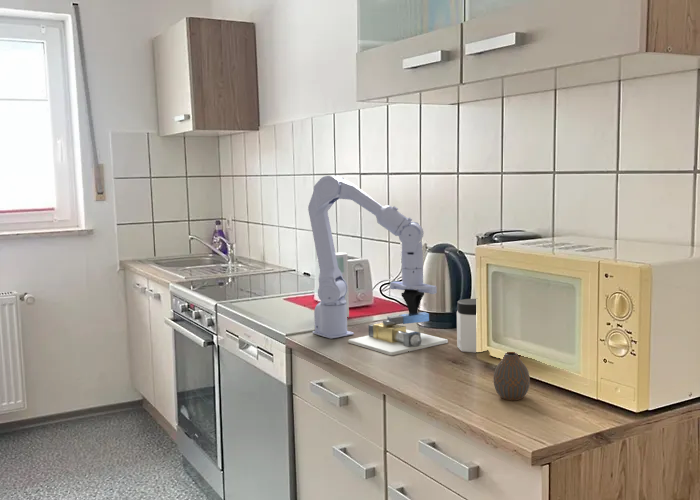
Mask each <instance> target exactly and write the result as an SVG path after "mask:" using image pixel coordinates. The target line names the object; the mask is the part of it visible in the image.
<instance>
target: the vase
mask: <svg viewBox="0 0 700 500" xmlns="http://www.w3.org/2000/svg"><path fill="white" fill-rule="evenodd" d="M496 365H497V366H495V368H494V373H493V385H494V386H493V388H494V389H495V391H496V393H497V394H498V396H500V398H502V399H503V400H507V401H519V400H521V399H523V398H524V397H525V396H526V395H527V393H528V391H529V388H530V383H531V379H530V378H531V377H530V372H529V369H528V367H527V366H526V364H525V362H523V360H522V359H521V358H520V356H518V354H517V353H515V352H507V353H505V355H504V357H503V359H502V360H501V359H500V361H499V363H498V364H496Z"/></svg>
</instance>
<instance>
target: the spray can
mask: <svg viewBox="0 0 700 500" xmlns="http://www.w3.org/2000/svg"><path fill="white" fill-rule="evenodd" d="M335 253H336V259H337V264H338V268H339V269H340V271H341V273H342V277H343V279H344V280H345V282H346V283H347V286H348V287H349V266H348V262H349V261H348V256H349V255H348V253H347V252H335ZM344 298H345V300H346V307H347V317H348V318H349V317H350V306H349V305H350V304H349V301H350V300H349V289H348V290H347V293H346V295H345V296H344Z"/></svg>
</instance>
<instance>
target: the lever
mask: <svg viewBox="0 0 700 500" xmlns="http://www.w3.org/2000/svg"><path fill="white" fill-rule="evenodd" d="M429 321H430V313H428V312H426V311H423V312H422V311H421V312H420V311H419V312H418V313H410V314H409V313H403V314H399V315H390V316H387V317H386V319H383V320H382V323H383V325H385V326H393V325H396V324H397V325H406V324H414V323H415V324H416V323H424V322H429Z"/></svg>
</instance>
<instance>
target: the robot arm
mask: <svg viewBox="0 0 700 500" xmlns="http://www.w3.org/2000/svg"><path fill="white" fill-rule="evenodd" d="M338 200H349V201H353V202H354V203H355V204H356V205H359V206H360V207H361V208H364V209H365V210H366V211H368V212H369V213H371V214H373V215H374V216H375V217H376V222H377V224H379V225H380V226H382V227H383V228H384V230H385V229H386V230H387V231H388V232H390V233H391V234H392V235H394V236H395V237H398V239H399V241H400V243H401V281H391V282H389V289H390V290H399V291H403V292H401V297H402V298H403V301H404V303H405V304H406V306H407V310H408V314H410V313H419V312H418V311H419V305H420V304H421V301H422V299H423V297H424V296H425V294H430V295H434V294H437V293H438V289H437V288H438V287H437V285H431V284H428V283H424V250H423V241H422V240H423V237H424V233H425V232H424V228H423V227H422V226H421V224H420V223H418V222H416V221H413V218H411V217H406V216H405V215H404V214H403V213H401V212H400V211H399V208H398V207H397V206H395V205H394V206H391V205H382V204H381V203H379V202H378V201H376V200H375V199H374V198H372V197H371V196H370V195H369V194H368V193H366V192H365V191H364V190H362V189H361V188H360V187H358V186H357V185H356V184H354V183H353V182H351V181H349V180H346V179H345V178H343V177H342V176H341V175H325V176H322V177H320V179H319V180H318V181H317V182H316V183H315V184H314V186H313V191H312V195H311V197H310V200H309V204H308V205H307V206H308V209H307V212H308V217H309V220H310V226H311V231H312V236H313V242H314V246H315V251H316V257H317V262H318V263H317V264H318V269H319V273H318V274H319V275H318V284H319V286H318V289H317V297H318V299H319V300H320V302H318V303H317V304H316V305H315V307H314V313H313V314H314V317H313V319H314V330H312V334H314V335H318V336H321V337H324V338H326V339H332V340H333V339H337V338H343V337H348V336H352V335H354V334H355V332H352V331H349V330H348V318H347V307H346V300H345V298H344V296H345V295H346V293H347V290H348V291H349V285H348V286H347V283H346V282H345V280H344V279H343V277H342V273H341V271H340V269H339V268H338V264H337V259H336V253H337V252H336V250H335V242H334V239H333V234H332V229H331V223H330V219H329V218H330V217H329V213H328V212H329V211H330V209H331V207H333V205H334V204H335V202H336V201H338Z"/></svg>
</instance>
